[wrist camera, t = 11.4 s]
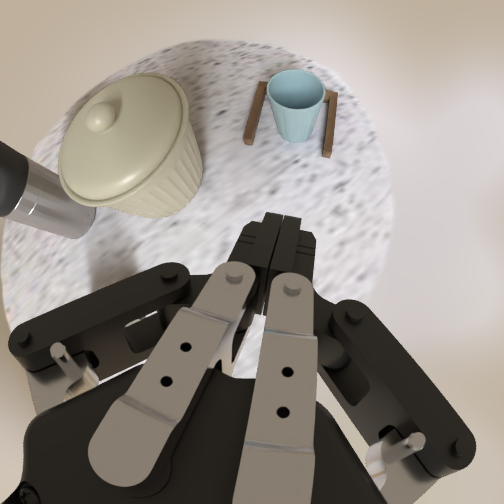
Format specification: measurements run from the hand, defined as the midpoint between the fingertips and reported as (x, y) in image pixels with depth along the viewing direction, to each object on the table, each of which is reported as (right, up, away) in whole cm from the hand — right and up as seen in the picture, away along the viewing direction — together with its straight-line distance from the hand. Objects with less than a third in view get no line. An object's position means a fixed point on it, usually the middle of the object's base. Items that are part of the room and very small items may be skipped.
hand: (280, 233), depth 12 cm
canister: (-15, +11, +32) cm, 37 cm away
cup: (+6, +19, +31) cm, 36 cm away
